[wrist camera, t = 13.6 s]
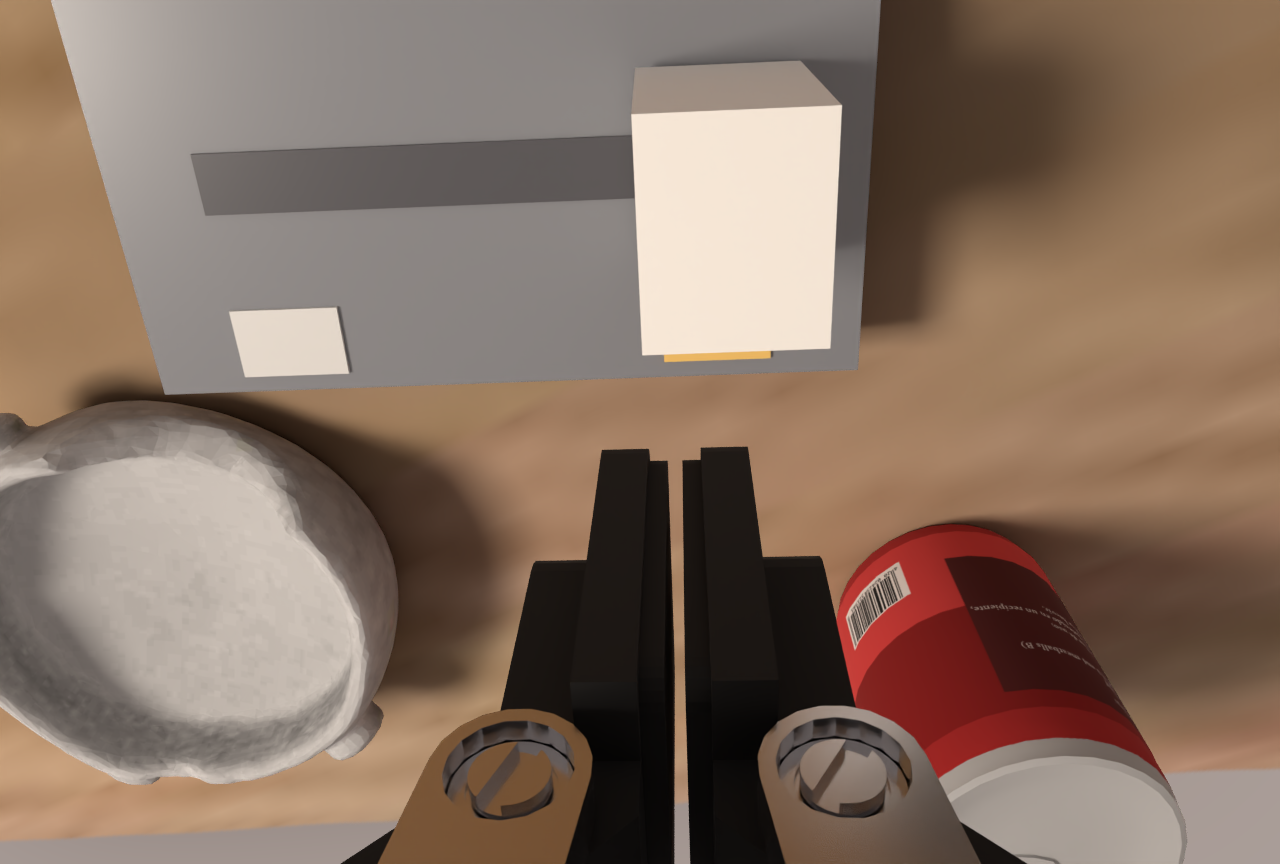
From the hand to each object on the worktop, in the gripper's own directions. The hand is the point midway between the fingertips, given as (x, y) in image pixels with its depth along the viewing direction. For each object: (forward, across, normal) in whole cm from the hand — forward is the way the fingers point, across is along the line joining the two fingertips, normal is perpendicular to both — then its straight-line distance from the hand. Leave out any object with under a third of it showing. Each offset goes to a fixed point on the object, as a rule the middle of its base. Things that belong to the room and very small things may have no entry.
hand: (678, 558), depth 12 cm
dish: (+20, +17, +13) cm, 29 cm away
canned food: (+20, -9, +16) cm, 27 cm away
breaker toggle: (+16, -1, -1) cm, 16 cm away
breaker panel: (+20, +5, -1) cm, 20 cm away
